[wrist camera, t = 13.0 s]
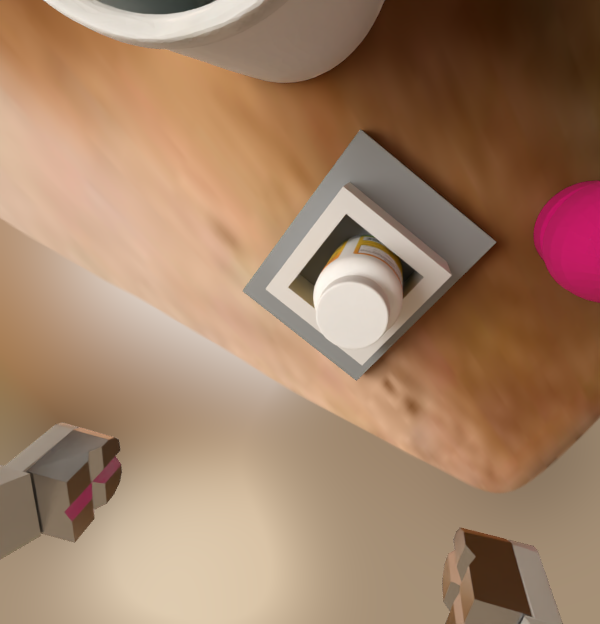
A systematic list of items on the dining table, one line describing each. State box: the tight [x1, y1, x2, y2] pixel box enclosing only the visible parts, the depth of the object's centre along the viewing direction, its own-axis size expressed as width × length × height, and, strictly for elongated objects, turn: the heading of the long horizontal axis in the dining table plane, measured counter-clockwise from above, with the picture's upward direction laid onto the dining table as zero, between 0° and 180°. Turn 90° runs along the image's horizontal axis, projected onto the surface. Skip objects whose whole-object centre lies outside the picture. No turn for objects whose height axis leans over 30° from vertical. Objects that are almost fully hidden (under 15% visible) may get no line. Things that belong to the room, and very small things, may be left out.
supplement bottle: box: [313, 235, 403, 350], centre depth 27 cm, size 5×5×10 cm
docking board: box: [243, 130, 496, 381], centre depth 31 cm, size 12×15×5 cm
